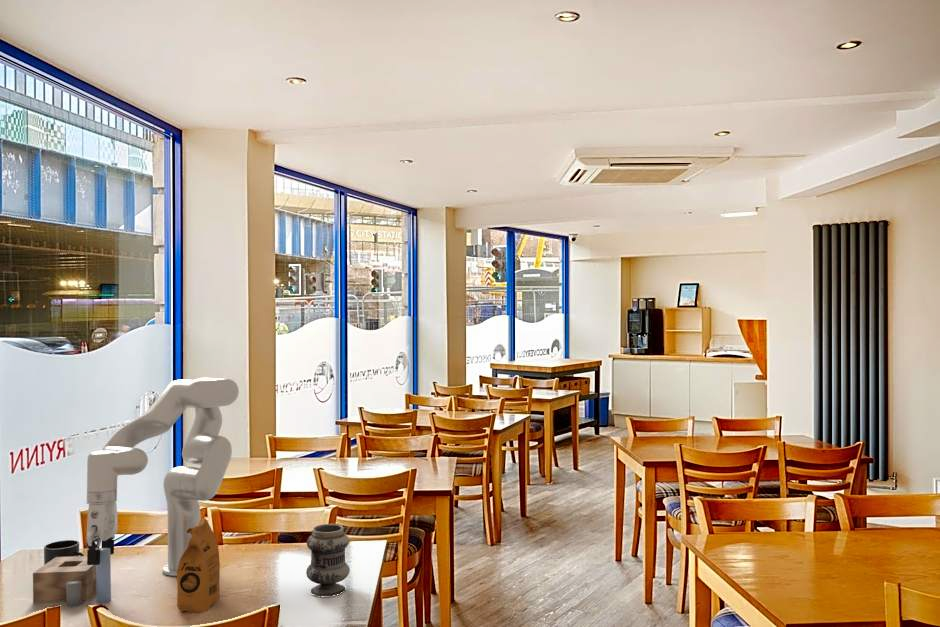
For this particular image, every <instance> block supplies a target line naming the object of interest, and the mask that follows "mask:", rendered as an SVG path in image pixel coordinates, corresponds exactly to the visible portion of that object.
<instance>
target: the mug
mask: <svg viewBox="0 0 940 627" xmlns="http://www.w3.org/2000/svg"><path fill="white" fill-rule="evenodd" d="M43 554H44V555H43V558H44V559H43V566H44V565H45V564H47V563H48V562H50V561H51V560H52V559H54V558H55V557H72V556H85V554H84V553H82V552H81V551H80V542H79V541H78V540H73V539H68V540H67V539H66V540H58V541H57V540H56V541H54V542H50V543H47V544H45V546H44V548H43Z"/></svg>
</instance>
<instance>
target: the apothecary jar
mask: <svg viewBox="0 0 940 627" xmlns="http://www.w3.org/2000/svg"><path fill="white" fill-rule="evenodd" d="M349 544H350V538H349V536H348V534H346V533H345V531H344V527H343V525H341V524H339V523H337V524H336V523H324V524H318V525H316V526H314V527H313V529H312V533H311V535H309V537H308V538H307V541H306V546H307V548H308V549H309V550H311V551H310V556H311V559H310V564H309V565H308V567H307V568H306V577H307V578H308V579H309V581H311V582H312V583H315V584H316V585H315V586H313V587H312V588H311V589H310V591H311V593H312V594H314V595H316V596H320V597H319V598H322V597H321V596H333V595H337V594H340V593H341V592H343V591H344V590H345V588H346V587H345V586H344V585H343V584H340V582H342V581H344V580H345V579H346V578H347V577H348V576H349V574H350V571H351V570H350V566H349V564H348V563H347V562H346V548H347V547H348V546H349ZM311 593H310V594H311ZM312 594H311V595H312ZM341 594H342V593H341ZM341 594H340V595H341ZM314 595H313V596H314ZM316 596H315V597H316Z"/></svg>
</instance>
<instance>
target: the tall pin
mask: <svg viewBox="0 0 940 627" xmlns="http://www.w3.org/2000/svg"><path fill="white" fill-rule="evenodd" d="M99 549H101V551H100V564H99V565H96V592H95V593H96V594H95V596H96V598H95V599H96V602H95V603H97V604H104V603H105V604H106V603H109V602H110V601H111V600H112V585H111V584H112V583H111V581H112V580H111V578H112V577H111V555H110V548H102V547H99Z"/></svg>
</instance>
